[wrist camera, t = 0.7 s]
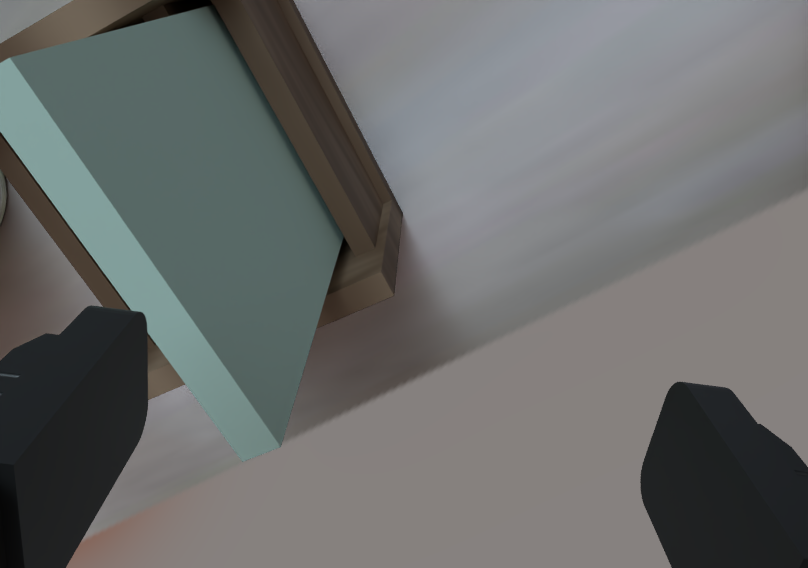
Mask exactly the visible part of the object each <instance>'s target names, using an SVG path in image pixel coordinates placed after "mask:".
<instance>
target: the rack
mask: <svg viewBox="0 0 808 568" xmlns="http://www.w3.org/2000/svg"><path fill="white" fill-rule="evenodd" d="M210 5H215V7H216V9H217V11H218V12H219V14H220V16H221V18H222V20H223V21H224V23H225V25H226V27H227V29H228V30H229V32H230V34H231V36H232V37H233V39H234V41H235V43H236V45H237V46H238V48H239V50H240V52H241V54H242V55H243V57H244V59H245V61H246V62H247V64H248V66H249V68H250V70H251V71H252V73H253V75H254V77H255V78H256V80H257V82H258V84H259V86H260V87H261V89H262V91H263V93H264V95H265V96H266V98H267V100H268V102H269V103H270V105H271V107H272V109H273V111H274V112H275V114H276V116H277V118H278V119H279V121H280V123H281V125H282V127H283V128H284V130H285V132H286V134H287V136H288V137H289V139H290V141H291V143H292V144H293V146H294V148H295V150H296V152H297V153H298V155H299V157H300V159H301V161H302V162H303V164H304V166H305V168H306V169H307V171H308V173H309V175H310V177H311V178H312V180H313V182H314V184H315V185H316V187H317V189H318V191H319V193H320V194H321V196H322V198H323V200H324V202H325V203H326V205H327V207H328V209H329V210H330V212H331V214H332V216H333V218H334V219H335V221H336V223H337V225H338V227H339V228H340V230H341V232H342V234H343V235H344V237H343V240H342V244H341V247H340V250H339V254H338V257H337V260H336V264H335V267H334V270H333V274H332V277H331V280H330V284H329V287H328V290H327V294H326V297H325V301H324V304H323V307H322V311H321V314H320V317H319V321H318V324H317V327H316V329H317V328H319V327H322V326H324V325H326V324H329V323H331V322H333V321H336V320H338V319H340V318H343V317H345V316H347V315H350V314H352V313H355V312H357V311H359V310H362V309H364V308H366V307H369V306H371V305H373V304H376V303H378V302H381V301H383V300H385V299H388V298H390V297H392V296H394V292H395V282H396V273H397V263H398V253H399V243H400V233H401V224H402V214H403V213H402V211H401V209H400V207H399V205H398V203H397V201H396V199H395V197H394V195H393V193H392V191H391V189H390V187H389V185H388V184H387V182H386V180H385V178H384V176H383V174H382V172H381V170H380V168H379V166H378V164H377V162H376V160H375V158H374V156H373V154H372V152H371V151H370V149H369V147H368V145H367V143H366V141H365V139H364V137H363V135H362V133H361V131H360V129H359V127H358V125H357V123H356V121H355V119H354V118H353V116H352V114H351V112H350V110H349V108H348V106H347V104H346V102H345V100H344V98H343V96H342V94H341V92H340V90H339V88H338V86H337V85H336V83H335V81H334V79H333V77H332V75H331V73H330V71H329V69H328V67H327V65H326V63H325V61H324V59H323V57H322V55H321V53H320V52H319V50H318V48H317V46H316V44H315V42H314V40H313V38H312V36H311V34H310V32H309V30H308V28H307V26H306V24H305V22H304V20H303V19H302V17H301V15H300V13H299V11H298V9H297V7H296V5H295V3H294V1H293V0H73V1H71V2H70V3H68V4H66V5H65V6H63V7H61V8H60V9H58V10H56V11H55V12H53V13H51V14H50V15H48V16H46V17H45V18H43V19H41V20H39V21H38V22H36V23H34V24H33V25H31V26H29V27H28V28H26V29H24V30H23V31H21V32H19V33H18V34H16V35H14V36H13V37H11V38H9V39H7V40H6V41H4V42H2V43H1V44H0V63H1V62H3V61H5V60H6V59H8V58H10V57H14V56H18V55H21V54H25V53H29V52H33V51H37V50H41V49H45V48H48V47H52V46H56V45H60V44H64V43H68V42H72V41H75V40H79V39H83V38H87V37H91V36H95V35H99V34H102V33H106V32H110V31H114V30H118V29H122V28H126V27H129V26H133V25H137V24H141V23H145V22H149V21H153V20H156V19H160V18H164V17H168V16H172V15H176V14H180V13H183V12H187V11H191V10H195V9H199V8H203V7H206V6H210ZM0 170H1V171H2V172H3V174H4V175H5V176H6V178H7V179H8V180H9V182H10V183H11V184H12V186H13V187H14V188H15V190H16V191H17V192H18V194H19V195H20V196H21V198H22V199H23V200H24V202H25V203H26V204H27V206H28V207H29V208H30V210H31V211H32V212H33V214H34V215H35V216H36V218H37V219H38V220H39V222H40V223H41V224H42V226H43V227H44V228H45V230H46V231H47V232H48V234H49V235H50V236H51V238H52V239H53V240H54V242H55V243H56V244H57V246H58V247H59V248H60V250H61V251H62V252H63V254H64V255H65V256H66V258H67V259H68V260H69V262H70V263H71V264H72V266H73V267H74V268H75V270H76V271H77V272H78V274H79V275H80V276H81V278H82V279H83V280H84V282H85V283H86V284H87V286H88V287H89V288H90V290H91V291H92V292H93V294H94V295H95V296H96V298H97V299H98V300H99V302H100V303H101V304H102V306H103V307H107V308H115V309H123V310H131V309H130V308H129V306H128V305H127V304H126V302H125V301H124V300H123V298H122V297H121V295H120V294H119V293H118V291H117V290H116V289H115V287H114V286H113V285H112V283H111V282H110V280H109V279H108V278H107V276H106V275H105V274H104V272H103V271H102V270H101V268H100V267H99V265H98V264H97V263H96V261H95V260H94V259H93V257H92V256H91V255H90V253H89V252H88V250H87V249H86V248H85V246H84V245H83V244H82V242H81V241H80V240H79V238H78V237H77V235H76V234H75V233H74V231H73V230H72V229H71V227H70V226H69V225H68V223H67V222H66V220H65V219H64V218H63V216H62V215H61V214H60V212H59V211H58V210H57V208H56V207H55V205H54V204H53V203H52V201H51V200H50V199H49V197H48V196H47V195H46V193H45V192H44V190H43V189H42V188H41V186H40V185H39V184H38V182H37V181H36V180H35V178H34V177H33V175H32V174H31V173H30V171H29V170H28V169H27V167H26V166H25V165H24V163H23V162H22V160H21V159H20V158H19V156H18V155H17V154H16V152H15V151H14V149H13V148H12V147H11V145H10V144H9V143H8V141H7V140H6V139H5V137H4V136H3V134H2V133H1V132H0ZM131 311H132V310H131ZM147 338H148V400H149V399H152V398H154V397H156V396H159V395H161V394H163V393H166V392H168V391H170V390H173V389H175V388H178V387H180V386H182V385H185V383H184V381H183V380H182V379H181V377H180V376H179V375H178V373H177V372H176V371H175V369H174V368H173V366H172V365H171V364H170V362H169V361H168V360H167V358H166V357H165V356H164V354H163V353H162V351H161V350H160V349H159V347H158V346H157V345H156V343H155V342H154V341H153V339H152V338H151V336H150V335H149V334H148V332H147Z"/></svg>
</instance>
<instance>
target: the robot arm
mask: <svg viewBox="0 0 808 568" xmlns="http://www.w3.org/2000/svg"><path fill="white" fill-rule="evenodd" d="M147 409H148V338H147V321H146V317H145V315H144V314H143V313H142V312H138V311H131V310H123V309H115V308H107V307H99V306H88V307H87V308H85V309H84V310H83V311H82V312H81V313H80V314H79V315H78V316H77V317H76V319H75V320H74V321H73V322H72V323H71V324H70V325H69V326H68V327H67V328H66V329H65V330H64V331H63V332H62V333H61V334H60V335H54V334H44V335H42V336H40V337H38V338H36V339H33V340H31V341H29V342H27V343H25V344H23V345H21V346H19V347H17V348H14V349H12V350H11V351H10V352H9V353H8V354H7V355H6V356H5V357H4V358H3V359H2V360H1V361H0V568H66V566H67V564H68V563H69V561H70V559H71V558H72V556H73V554H74V552H75V550H76V549H77V547H78V546H79V544H80V542H81V540H82V539H83V537H84V535H85V534H86V532H87V530H88V528H89V527H90V525H91V523H92V522H93V520H94V518H95V516H96V515H97V513H98V511H99V509H100V508H101V506H102V504H103V503H104V501H105V499H106V497H107V496H108V494H109V492H110V491H111V489H112V487H113V485H114V484H115V482H116V480H117V479H118V477H119V475H120V473H121V472H122V470H123V468H124V466H125V465H126V463H127V461H128V460H129V458H130V456H131V454H132V453H133V451H134V449H135V448H136V446H137V444H138V442H139V440H140V438H141V435H142V432H143V429H144V425H145V421H146V416H147ZM641 494H642V499H643V503H644V506H645V508H646V510H647V513H648V515H649V517H650V519H651V521H652V524H653V526H654V528H655V530H656V533H657V535H658V537H659V539H660V542H661V544H662V546H663V549H664V551H665V553H666V555H667V557H668V560H669V562H670V564H671V567H672V568H808V467H807V466H806V464H805V463H804V462H803V461H802V460H801V458H800V457H799V456H798V455H797V453H796V452H795V451H794V450H793V449H792V447H790V446H789V445H788V444H786V443H785V442H783V441H782V440H781V439H780V438H779V437H777V436H776V435H775V434H773V433H772V432H771V431H769V430H768V429H767V428H765V427H764V426H763V425H761V424H757V422H756V421H755V420H754V418H753V417H752V416H751V415H750V413H749V412H748V411H747V410H746V408H745V407H744V406H743V404H742V403H741V402H740V401H739V399H738V398H737V397H736V395H735V394H734V393H733V392H732V391H731V390H730V389H728V388H725V387H716V386H709V385H701V384H693V383H686V382H677V383H675V384H674V385H673V386H671V388H670V389H669V391H668V393H667V395H666V398H665V401H664V404H663V407H662V410H661V412H660V415H659V419H658V421H657V424H656V427H655V430H654V433H653V436H652V438H651V441H650V444H649V447H648V450H647V453H646V456H645V459H644V462H643V466H642V470H641Z"/></svg>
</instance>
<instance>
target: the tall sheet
mask: <svg viewBox="0 0 808 568" xmlns="http://www.w3.org/2000/svg"><path fill="white" fill-rule="evenodd" d="M0 132H1V133H2V134H3V136H4V137H5V139H6V140H7V141H8V143H9V144H10V145H11V147H12V148H13V149H14V151H15V152H16V154H17V155H18V156H19V158H20V159H21V160H22V162H23V163H24V165H25V166H26V167H27V169H28V170H29V171H30V173H31V174H32V175H33V177H34V178H35V180H36V181H37V182H38V184H39V185H40V186H41V188H42V189H43V190H44V192H45V193H46V195H47V196H48V197H49V199H50V200H51V201H52V203H53V204H54V205H55V207H56V208H57V210H58V211H59V212H60V214H61V215H62V216H63V218H64V219H65V220H66V222H67V223H68V225H69V226H70V227H71V229H72V230H73V231H74V233H75V234H76V235H77V237H78V238H79V240H80V241H81V242H82V244H83V245H84V246H85V248H86V249H87V250H88V252H89V253H90V255H91V256H92V257H93V259H94V260H95V261H96V263H97V264H98V265H99V267H100V268H101V270H102V271H103V272H104V274H105V275H106V276H107V278H108V279H109V280H110V282H111V283H112V285H113V286H114V287H115V289H116V290H117V291H118V293H119V294H120V295H121V297H122V298H123V300H124V301H125V302H126V304H127V305H128V306H129V308H130V309H131V310H132V311H138V312H142V313H143V314H144V315H145V317H146V321H147V332H148V334H149V335H150V336H151V338H152V339H153V341H154V342H155V343H156V345H157V346H158V347H159V349H160V350H161V351H162V353H163V354H164V356H165V357H166V358H167V360H168V361H169V362H170V364H171V365H172V366H173V368H174V369H175V371H176V372H177V373H178V375H179V376H180V377H181V379H182V380H183V381H184V383H185V384H186V386H187V387H188V388H189V390H190V391H191V392H192V394H193V395H194V396H195V398H196V399H197V401H198V402H199V403H200V405H201V406H202V407H203V409H204V410H205V411H206V413H207V414H208V416H209V417H210V418H211V420H212V421H213V422H214V424H215V425H216V426H217V428H218V429H219V431H220V432H221V433H222V435H223V436H224V437H225V439H226V440H227V441H228V443H229V444H230V446H231V447H232V448H233V450H234V451H235V452H236V454H237V455H238V456H239V458H240V459H241V461H242V462H243V461H246V460H248V459H251V458H254V457H256V456H259V455H261V454H264V453H267V452H269V451H272V450H274V449H277V448H280V447H281V445H282V441H283V438H284V435H285V431H286V428H287V424H288V421H289V418H290V414H291V411H292V408H293V404H294V401H295V398H296V394H297V391H298V388H299V384H300V381H301V378H302V374H303V371H304V368H305V364H306V361H307V357H308V354H309V351H310V347H311V344H312V341H313V337H314V334H315V331H316V327H317V324H318V321H319V317H320V314H321V311H322V307H323V304H324V301H325V297H326V294H327V290H328V287H329V284H330V280H331V277H332V274H333V270H334V267H335V264H336V260H337V257H338V254H339V250H340V247H341V244H342V240H343V237H344V235H343V234H342V232H341V230H340V228H339V227H338V225H337V223H336V221H335V219H334V218H333V216H332V214H331V212H330V210H329V209H328V207H327V205H326V203H325V202H324V200H323V198H322V196H321V194H320V193H319V191H318V189H317V187H316V185H315V184H314V182H313V180H312V178H311V177H310V175H309V173H308V171H307V169H306V168H305V166H304V164H303V162H302V161H301V159H300V157H299V155H298V153H297V152H296V150H295V148H294V146H293V144H292V143H291V141H290V139H289V137H288V136H287V134H286V132H285V130H284V128H283V127H282V125H281V123H280V121H279V119H278V118H277V116H276V114H275V112H274V111H273V109H272V107H271V105H270V103H269V102H268V100H267V98H266V96H265V95H264V93H263V91H262V89H261V87H260V86H259V84H258V82H257V80H256V78H255V77H254V75H253V73H252V71H251V70H250V68H249V66H248V64H247V62H246V61H245V59H244V57H243V55H242V54H241V52H240V50H239V48H238V46H237V45H236V43H235V41H234V39H233V37H232V36H231V34H230V32H229V30H228V29H227V27H226V25H225V23H224V21H223V20H222V18H221V16H220V14H219V12H218V11H217V9H216V7H215V5H210V6H206V7H203V8H199V9H195V10H191V11H187V12H183V13H180V14H176V15H172V16H168V17H164V18H160V19H156V20H153V21H149V22H145V23H141V24H137V25H133V26H129V27H126V28H122V29H118V30H114V31H110V32H106V33H102V34H99V35H95V36H91V37H87V38H83V39H79V40H75V41H72V42H68V43H64V44H60V45H56V46H52V47H48V48H45V49H41V50H37V51H33V52H29V53H25V54H21V55H18V56H14V57H10V58H8V59H6V60H5V61H3V62H1V63H0Z"/></svg>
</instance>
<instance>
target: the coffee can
mask: <svg viewBox="0 0 808 568" xmlns="http://www.w3.org/2000/svg"><path fill="white" fill-rule="evenodd" d="M6 197H7V192H6V183H5V177H4V174H3V172H2V171H1V170H0V225H1V222H2V219H3V215H4V212H5V207H6Z"/></svg>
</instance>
